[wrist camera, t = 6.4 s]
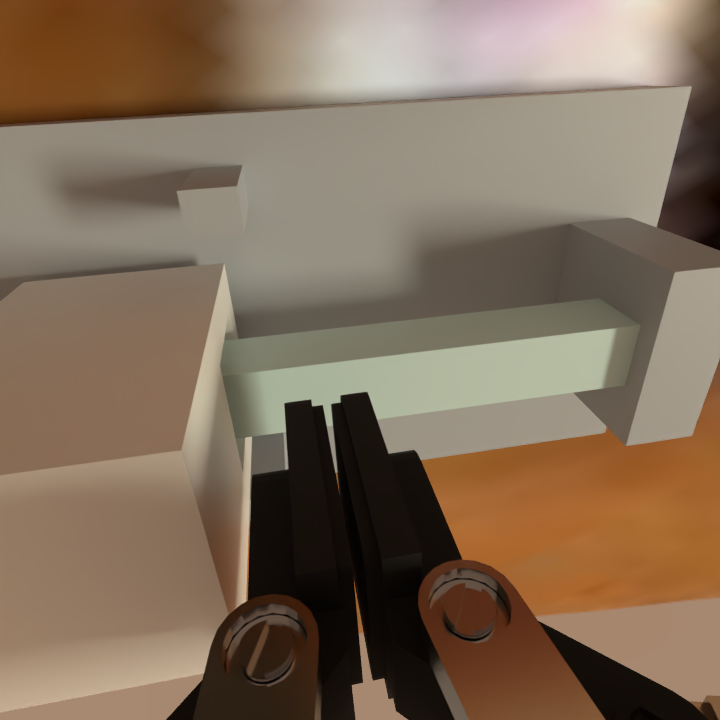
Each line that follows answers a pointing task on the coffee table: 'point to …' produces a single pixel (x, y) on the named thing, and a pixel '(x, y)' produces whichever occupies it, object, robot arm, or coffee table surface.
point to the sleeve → (116, 482)
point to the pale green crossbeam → (429, 362)
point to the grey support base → (395, 234)
